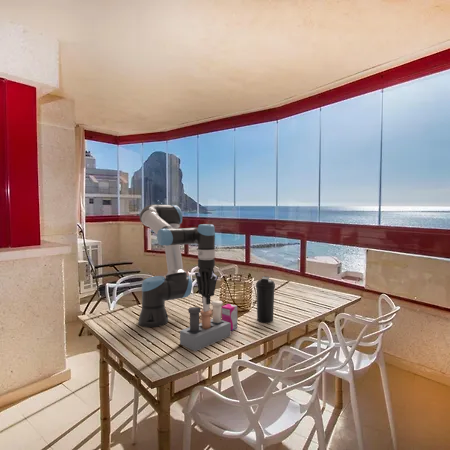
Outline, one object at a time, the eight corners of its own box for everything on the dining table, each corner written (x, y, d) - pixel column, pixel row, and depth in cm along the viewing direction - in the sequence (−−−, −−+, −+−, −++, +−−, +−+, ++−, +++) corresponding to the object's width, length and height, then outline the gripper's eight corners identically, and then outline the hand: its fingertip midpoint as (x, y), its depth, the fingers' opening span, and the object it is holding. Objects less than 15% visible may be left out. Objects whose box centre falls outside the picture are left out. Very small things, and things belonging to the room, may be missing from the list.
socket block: (179, 344, 128) (179, 330, 128) (215, 329, 144) (215, 317, 144) (195, 351, 121) (195, 337, 121) (230, 335, 137) (230, 322, 137)
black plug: (185, 330, 127) (185, 309, 127) (195, 326, 131) (195, 306, 131) (193, 333, 124) (193, 311, 123) (202, 329, 127) (203, 308, 127)
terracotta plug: (198, 331, 132) (198, 311, 132) (206, 328, 136) (206, 308, 136) (205, 334, 129) (206, 313, 129) (214, 331, 133) (214, 311, 132)
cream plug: (209, 321, 137) (209, 302, 137) (216, 318, 141) (217, 299, 141) (217, 324, 134) (217, 304, 134) (224, 321, 138) (224, 301, 137)
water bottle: (275, 317, 161) (276, 276, 161) (273, 324, 152) (274, 280, 151) (257, 315, 164) (257, 275, 163) (254, 322, 154) (254, 279, 154)
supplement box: (228, 325, 150) (228, 303, 150) (237, 328, 146) (237, 305, 146) (221, 328, 146) (221, 306, 145) (230, 331, 142) (230, 308, 141)
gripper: (190, 258, 133) (190, 309, 134) (210, 261, 124) (210, 316, 125) (202, 256, 139) (202, 305, 139) (222, 259, 130) (222, 312, 130)
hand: (206, 310), depth 132 cm, fingers closed
